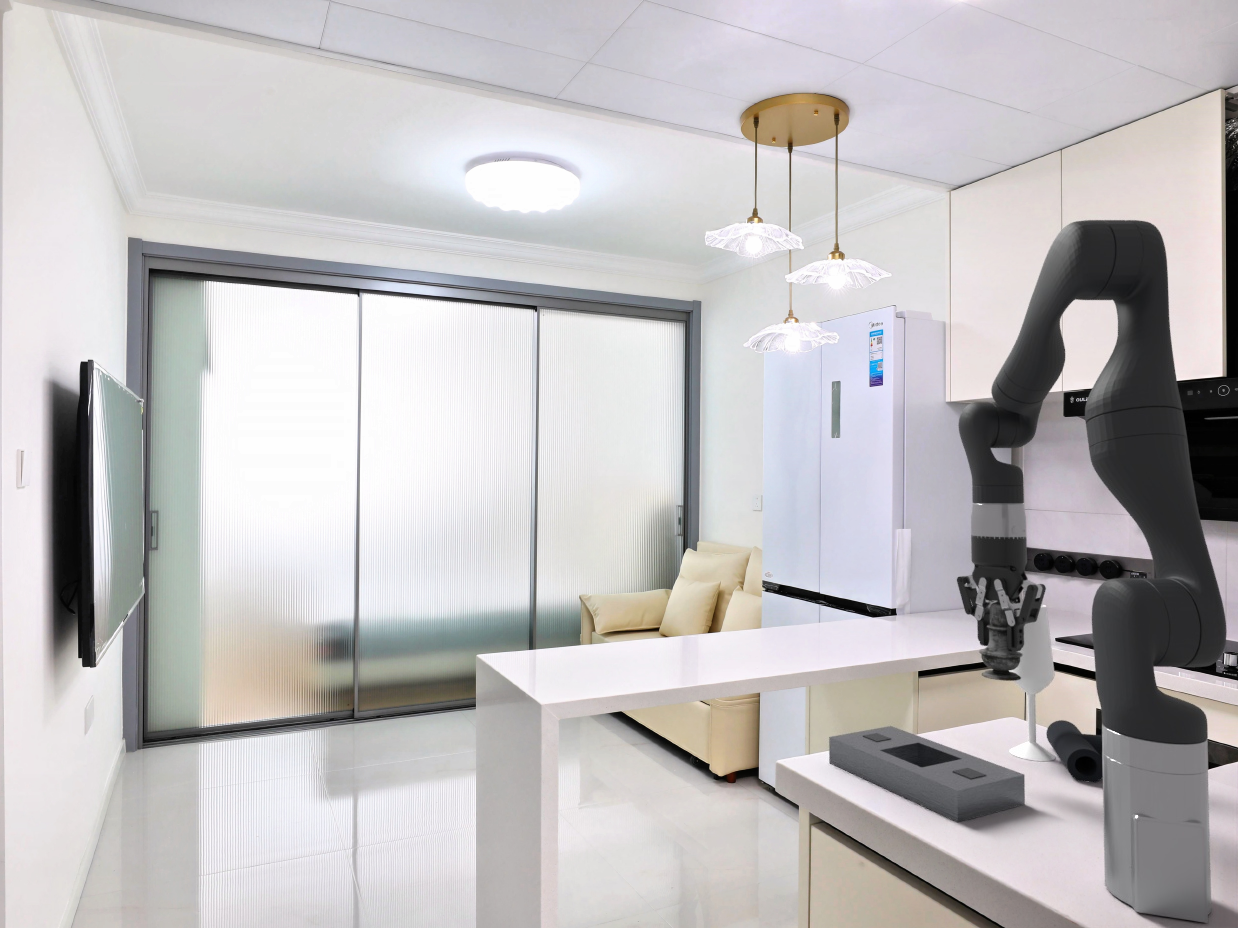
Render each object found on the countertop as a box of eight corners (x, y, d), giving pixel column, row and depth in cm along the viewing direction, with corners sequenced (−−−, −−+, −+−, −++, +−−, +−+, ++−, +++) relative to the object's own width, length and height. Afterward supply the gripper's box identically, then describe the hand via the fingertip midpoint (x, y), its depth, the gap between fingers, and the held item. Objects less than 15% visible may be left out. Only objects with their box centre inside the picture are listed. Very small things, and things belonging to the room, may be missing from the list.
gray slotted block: (1024, 804, 105) (1024, 773, 105) (957, 822, 99) (957, 789, 100) (891, 750, 127) (890, 725, 127) (829, 762, 121) (829, 736, 121)
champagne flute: (1007, 744, 130) (1005, 600, 130) (1052, 750, 127) (1050, 603, 128) (1010, 757, 123) (1008, 606, 124) (1058, 763, 121) (1056, 609, 122)
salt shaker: (1003, 682, 112) (1002, 599, 113) (970, 673, 118) (969, 594, 118) (1032, 678, 115) (1030, 597, 115) (998, 670, 120) (997, 592, 120)
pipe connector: (1125, 723, 125) (1157, 753, 111) (1126, 756, 125) (1158, 790, 111) (1045, 718, 129) (1066, 746, 115) (1047, 750, 129) (1067, 782, 114)
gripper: (1059, 535, 112) (1061, 654, 111) (975, 531, 125) (977, 638, 124) (1024, 536, 109) (1026, 659, 108) (942, 531, 122) (943, 641, 121)
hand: (1000, 647), depth 116 cm, fingers closed on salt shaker, 4 cm apart
